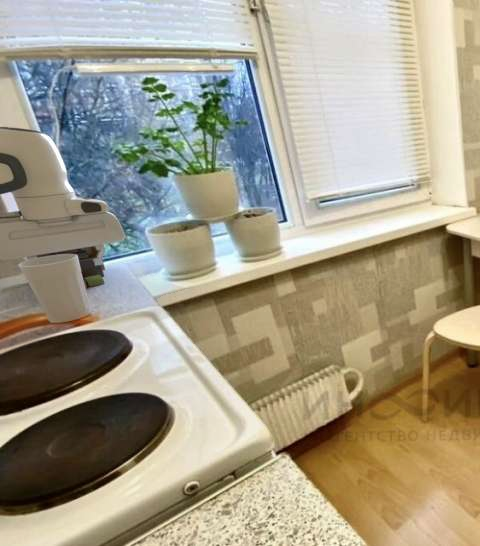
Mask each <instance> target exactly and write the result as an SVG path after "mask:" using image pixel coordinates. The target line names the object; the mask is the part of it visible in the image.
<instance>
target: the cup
mask: <svg viewBox="0 0 480 546" xmlns="http://www.w3.org/2000/svg"><path fill="white" fill-rule="evenodd" d="M17 266H18V267H19V269H20V271H21V273H22V274H23V276H24V278H25V280H26V281H27V283H28V285H29V287H30V288H31V290H32V292H33V294H34V296H35V298H36V299H37V301H38V303H39V304H40V307H41V309H42V310H43V312H44V314H45V315H46V318H47V320H48V322H49V321H50V322H49V323H50V324H51V323H52V324H60V323H67V322H73V321H76V320H79V319H83V318H86V317H87V316H89V315H91V314H92V313H93V307H91V304H90V300H89V296H88V293H87V287H86V288H85V285H84V281H85V280H84V281H83V277H82V273H81V268H80V263H79V259H78V255H76V254H59V255H51V256H45V257H39V258H35V259H31V260H28V259H27V260H25V261H21V262H19V263H18V264H17Z"/></svg>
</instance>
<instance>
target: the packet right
mask: <svg viewBox="0 0 480 546" xmlns="http://www.w3.org/2000/svg"><path fill="white" fill-rule="evenodd" d="M84 279H85V280H84V281H85V282H86V284H87V287H90V288H91V287H95V286H100V285H104V284H105V280H104V278H103V277H101V276H100V275H96V276H91V277H86V278H84Z"/></svg>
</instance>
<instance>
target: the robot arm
mask: <svg viewBox="0 0 480 546" xmlns="http://www.w3.org/2000/svg"><path fill="white" fill-rule="evenodd" d="M8 193H11V194H12V197H13V199H14V202H15V204H16V206H17V209H18V211H17V210H16V211H9V212H2V213H0V261H4V262H5V261H10V260H17V259H23V258H26V259H27V260H31V259H35V258H37V255H42V254H48V253H54V252H60V251H67V250H73V249H79V248H85V247H91V246H94V247H95V249H96V250H98V252H97V255H96V257H91V258H92V260H93V263H94V265H95V266H96V265H102V264H103V263H104V260H103V261H102V259H103V255H104V253H105V250H106V247H105V245H108V244H109V245H110V244H115V243H122V242H124V240H125V239H126V234H125V230H124V228H123V227H122V223H120V221H119V219H118V218H117V217H116V215H115V214H113V213H112V212H110V211H109V206H108V203H107V202H106V201H104V200H101V199H97V198H88V197H80V196H77V195H76V192H75V189H74V188H73V187H72V186H71V184H70V183H69V180H68V170H67V168H66V164H65V162H64V160H63V157H62V155H61V153H60V150H59V149H58V146H57V145H56V143H55V142H54V140H53V139H52V138H51V136H49V135H47V134H46V133H45V132H42V131H39V130H35V129H29V128H20V127H9V126H0V195H4V194H8ZM101 257H102V258H101Z"/></svg>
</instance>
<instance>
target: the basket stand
mask: <svg viewBox="0 0 480 546" xmlns="http://www.w3.org/2000/svg"><path fill="white" fill-rule="evenodd" d="M79 263H80V268H81V273H82V277H83V280H84V281H85V279H84V278H86V277H91V276H96V275H100V276H101V277H102V278H103V277H105V273H104V271H102V270H101V268H100V266H99V265H96V266H95V265H94V263H93V260H86V261H81V262H79Z"/></svg>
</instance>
